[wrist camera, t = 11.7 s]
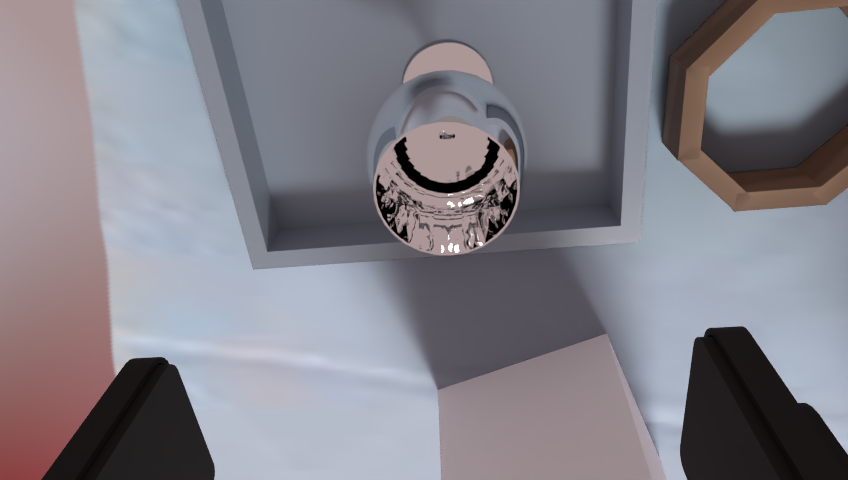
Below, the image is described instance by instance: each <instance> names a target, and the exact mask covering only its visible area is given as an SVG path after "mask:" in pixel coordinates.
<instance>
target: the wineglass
mask: <svg viewBox="0 0 848 480" xmlns="http://www.w3.org/2000/svg"><path fill="white" fill-rule="evenodd" d="M366 164H367V174H368V182H369V186H370V190H371V193H372V197H373V199H374V202H375V205H376V208H377V211H378V214H379V216H380V217H381V219H382V221H383V223H384V225H385V226H386V227H387V228H388V229H389V230H390V232H391V233H392V234H393V235H394V236H395V237H397V238H398V239H399V240H401V241H402V242H403V243H404V244H406V245H408V246H410V247H412V248H414V249H417V250H419V251H422V252H426V253H430V254H434V255H458V254H463V253H468V252H471V251H474V250H476V249H479V248H481V247H483V246H485V245H486V244H488V243H489V242H491V241H492V240H494V239H495V238H497V237H498V236H499V235H500V234H501V233H502V232H503V231H504V230H505V228H506V227H507V226H508V224H509V223H510V221H511V220H512V218H513V216H514V214H515V211H516V209H517V206H518V203H519V200H520V197H521V194H522V192H523V189H524V184H525V180H526V175H527V165H528V150H527V140H526V135H525V131H524V127H523V124H522V122H521V119H520V117H519V115H518V113H517V111H516V109H515V108H514V106H513V105H512V103H511V102H510V101H509V100H508V98H507V97H506V96H505V95H504V94H503V93H502V92H501V91H500V90H499V89H498V88H496V87H495V86H494V84H493V77H492V73H491V70H490V68H489V66H488V64H487V62H486V61H485V60H484V58H483V57H482V56H481V55H480V54H479V53H478V52H476V51H475V50H474V49H472V48H471V47H469V46H466V45H464V44H461V43H456V42H440V43H435V44H433V45H430V46H428V47H426V48H424V49H422V50H421V51H420V52H418V53H417V54H416V55H415V56H414V57H413V59H412V60H411V62H410V63H409V65H408V66H407V68H406V71H405V74H404V76H403V83H402V85H401V86H400V87H399V88H398V89H397V90H395V91H394V92H393V93H392V94H391V95H390V96H389V97H388V98H387V100H386V101H385V102H384V103H383V105H382V106H381V107H380V109H379V111H378V112H377V114H376V116H375V118H374V121H373V123H372V126H371V129H370V133H369V137H368V143H367V150H366Z"/></svg>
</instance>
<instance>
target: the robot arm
mask: <svg viewBox="0 0 848 480" xmlns="http://www.w3.org/2000/svg"><path fill="white" fill-rule="evenodd" d="M680 456H681V462H682V466H683V469H684V472H685V475H686V477H687V480H848V455H847V453H846V452H845V450H844V449H843V448H842V446H841V445H840V443H839V442H838V441H837V439H836V438H835V436H834V435H833V434H832V432H831V431H830V429H829V428H828V426H827V425H826V424H825V422H824V421H823V419H822V418H821V417H820V415H819V414H818V413H817V412H816V411H815V409H814V408H813V407H812V406H810V405H808V404H806V403H797V401H796V400H795V398H794V397H793V395H792V394H791V392H790V391H789V390H788V388H787V387H786V385H785V384H784V382H783V381H782V379H781V378H780V376H779V375H778V373H777V372H776V371H775V369H774V368H773V366H772V365H771V363H770V362H769V360H768V359H767V357H766V356H765V354H764V353H763V352H762V350H761V349H760V347H759V346H758V344H757V343H756V341H755V340H754V338H753V337H752V335H751V334H750V332H749V331H748V330H747V329H746V328H745V327H742V326H741V327H722V328H709V329H707V330H706V332H705V335H704V337H697V338H696V339H695V341H694V347H693V354H692V362H691V369H690V377H689V384H688V392H687V399H686V407H685V414H684V422H683V429H682V437H681V445H680ZM214 476H215V469H214V463H213V461H212V458H211V455H210V453H209V450H208V448H207V445H206V442H205V440H204V437H203V434H202V432H201V429H200V427H199V424H198V421H197V419H196V416H195V413H194V411H193V408H192V406H191V403H190V400H189V398H188V395H187V393H186V390H185V387H184V385H183V382H182V379H181V377H180V374H179V372H178V369H177V368H176V366H175V365H172V364H169V363H168V361H167V360H166V359H165V358H162V357H153V358H134V359H131V360H129V361H128V362H127V363H126V364H125V365H124V367H123V368H122V369H121V371H120V372H119V374H118V375H117V376H116V378H115V379H114V380H113V382H112V383H111V385H110V386H109V387H108V389H107V390H106V392H105V393H104V394H103V396H102V397H101V399H100V400H99V401H98V402H97V404H96V405H95V407H94V408H93V409H92V411H91V412H90V414H89V415H88V416H87V418H86V419H85V420H84V422H83V423H82V424H81V426H80V427H79V429H78V430H77V431H76V433H75V434H74V436H73V437H72V438H71V440H70V441H69V443H68V444H67V445H66V447H65V448H64V449H63V451H62V452H61V453H60V455H59V456H58V458H57V459H56V460H55V462H54V463H53V465H52V466H51V467H50V469H49V470H48V471H47V473H46V474H45V475H44V477H43V478H42V480H214Z"/></svg>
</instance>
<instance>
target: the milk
mask: <svg viewBox="0 0 848 480" xmlns="http://www.w3.org/2000/svg"><path fill="white" fill-rule="evenodd" d="M438 402H439V430H440V458H441V480H667V479H666V476H665V473H664V470H663V467H662V464H661V461H660V458H659V456H658V453H657V451H656V449H655V446H654V444H653V441H652V439H651V437H650V434H649V432H648V430H647V427H646V425H645V423H644V420H643V418H642V416H641V413H640V411H639V408H638V406H637V404H636V401H635V399H634V397H633V394H632V392H631V390H630V387H629V385H628V383H627V380H626V378H625V376H624V373H623V371H622V368H621V366H620V364H619V361H618V359H617V357H616V354H615V352H614V350H613V347H612V345H611V343H610V340H609V338H608V335H607V333H606V334H603V335H600V336H597V337H594V338H591V339H588V340H586V341H583V342H580V343H577V344H574V345H571V346H568V347H565V348H562V349H559V350H556V351H553V352H550V353H547V354H544V355H541V356H538V357H535V358H532V359H529V360H526V361H523V362H520V363H517V364H514V365H511V366H508V367H505V368H502V369H499V370H496V371H493V372H490V373H487V374H484V375H481V376H478V377H475V378H472V379H469V380H466V381H463V382H460V383H457V384H454V385H451V386H448V387H445V388H442V389H439V390H438Z"/></svg>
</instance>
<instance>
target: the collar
mask: <svg viewBox="0 0 848 480" xmlns="http://www.w3.org/2000/svg"><path fill="white" fill-rule="evenodd" d="M833 7H839V8H840V9H841V10H842V11H843V12H844V14H845V15H846V16H847V17H848V0H726V1H725V2H724V3H723V4H722V5H721V6H720V7H719V8H718V9H717V10H716V11H715V12H714V13H713V14H712V15H711V16H710V17H709V18H708V19H707V20H706V21H705V22H704V23H703V24H702V25H701V26H700V27H699V28H698V29H697V30H696V31H695V32H694V33H693V34H692V35H691V36H690V37H689V38H688V39H687V40H686V41H685V42H684V43H683V44H682V45H681V46H680V47H679V48H678V49H677V50H676V51H675V52H674V53H673V54H672V55H671V56H670V57H669V70H668V82H667V94H666V106H665V118H664V130H663V141H662V143H663V144H664V145H665V146H666V147H667V149H668V150H669V151H670V152H671V153H672V154H673V155H674V157H675V158H676V159H677V160H679V161H680V162H681V163H682V164H683V165H685V166H686V167H687V168H688V169H689V170H690V171H691V172H692V173H693V174H694V175H696V176H697V177H698V178H699V179H700V180H701V181H702V182H703V183H704V184H706V185H707V186H708V187H709V188H710V189H711V190H712V191H713V192H714V193H715V194H717V195H718V196H719V197H720V198H721V199H722V200H723V201H724V202H725V203H727V204H728V205H729V206H730V207H731V208H732V209H733V211H735V212H736V211H747V210H760V209H774V208H787V207H800V206H814V205H827V203H828V202H830V201H831V200H832V199H834V198H835V197H836V196H837V195H839V194H840V193H841V192H843V191H844V190H845V189H846V188H848V125H847V126H846V127H844V128H843V129H842V130H841V131H840V132H838V133H837V134H836V135H835V136H833V137H832V138H831V139H830V140H829V141H827V142H826V143H825V144H824V145H823V146H821V147H820V148H819V149H818V150H816V151H815V152H814V153H813V154H812V155H810V156H809V157H808V158H807V159H805V160H804V161H803V162H802V163H801V164H799V165H798V166H797V167H794V168H782V169H769V170H757V171H744V172H732V173H726V172H725V171H724V170H723V169H722V168H721V167H720V166H719V165H718V164H717V163H716V162H715V161H714V160H712V159H711V158H710V157H709V156H708V155H707V154H706V153H705V152H704V151H703V150H702V149H701V140H702V132H703V123H704V114H705V105H706V97H707V88H708V79H709V76H710V75H711V74H712V73H713V72H714V71H715V70H716V69H717V68H718V67H720V66H721V65H722V64H723V63H724V62H725V61H726V60H727V59H728V58H729V57H730V56H731V55H732V54H733V53H734V52H735V51H736V50H737V49H738V48H739V47H740V46H742V45H743V44H744V43H745V42H746V41H747V40H748V39H749V38H750V37H751V36H752V35H753V34H754V33H755V32H756V31H757V30H758V29H759V28H760V27H761V26H762V25H764V24H765V23H766V22H767V21H768V20H769V19H770V18H771V17H772V16H773V15H774V14H775V13H784V12H794V11H804V10H813V9H823V8H833Z"/></svg>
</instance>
